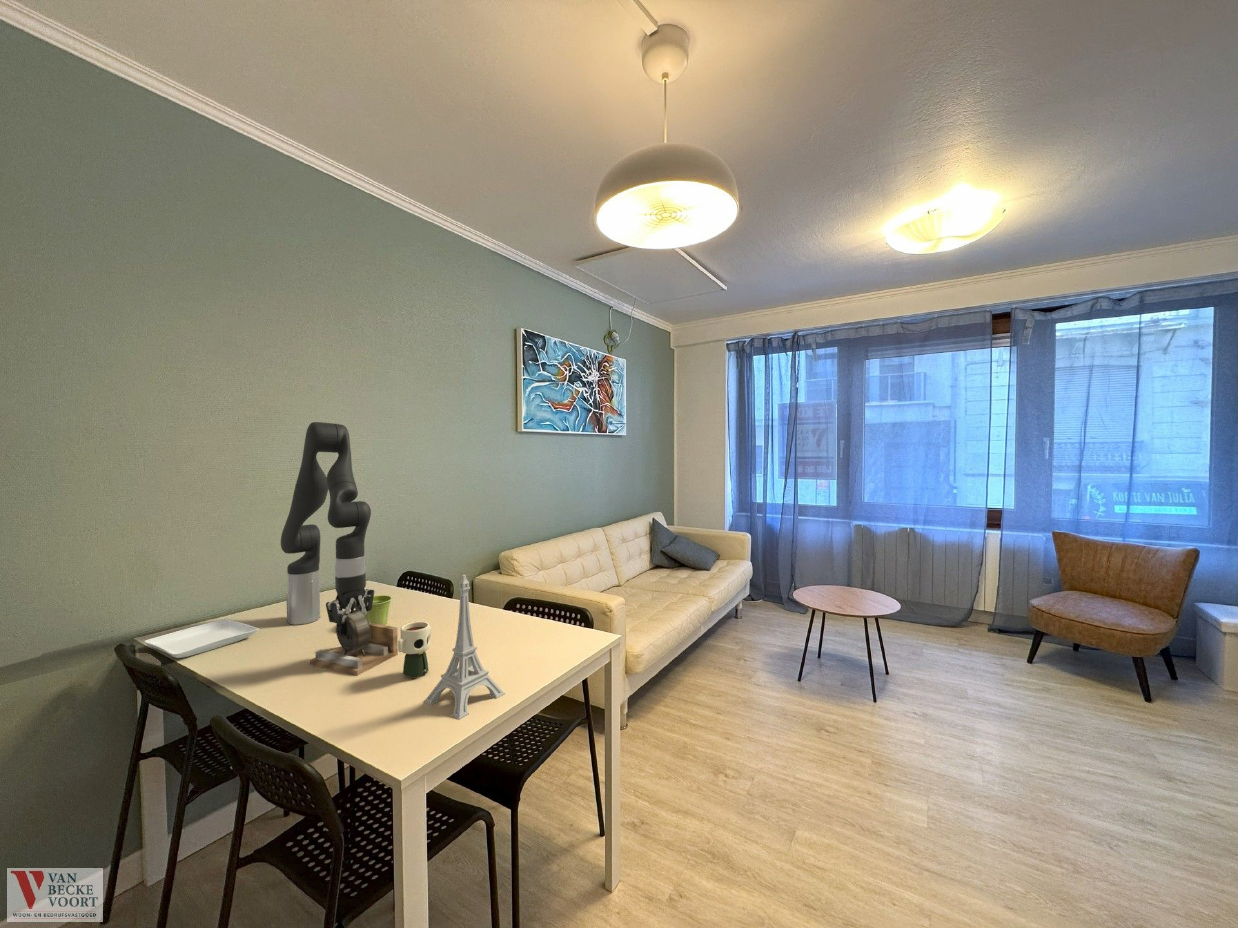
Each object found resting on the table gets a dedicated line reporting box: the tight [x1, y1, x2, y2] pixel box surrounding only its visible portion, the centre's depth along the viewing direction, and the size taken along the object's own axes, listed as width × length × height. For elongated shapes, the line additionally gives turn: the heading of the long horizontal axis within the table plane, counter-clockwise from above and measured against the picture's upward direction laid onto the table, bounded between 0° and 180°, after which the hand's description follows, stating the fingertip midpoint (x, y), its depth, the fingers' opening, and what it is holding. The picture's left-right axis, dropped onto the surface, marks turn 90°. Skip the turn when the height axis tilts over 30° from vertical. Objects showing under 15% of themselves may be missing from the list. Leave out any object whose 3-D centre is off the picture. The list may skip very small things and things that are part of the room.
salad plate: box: [143, 618, 260, 659], centre depth 146 cm, size 21×21×3 cm
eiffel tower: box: [423, 574, 506, 720], centre depth 114 cm, size 13×13×30 cm
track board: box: [309, 623, 399, 676], centre depth 135 cm, size 18×14×8 cm
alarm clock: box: [335, 599, 371, 656], centre depth 134 cm, size 11×5×16 cm, turn 58°
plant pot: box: [363, 594, 393, 625], centre depth 161 cm, size 9×9×9 cm
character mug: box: [398, 621, 432, 679], centre depth 126 cm, size 11×7×13 cm, turn 157°
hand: (351, 631), depth 134 cm, fingers closed on alarm clock, 5 cm apart
